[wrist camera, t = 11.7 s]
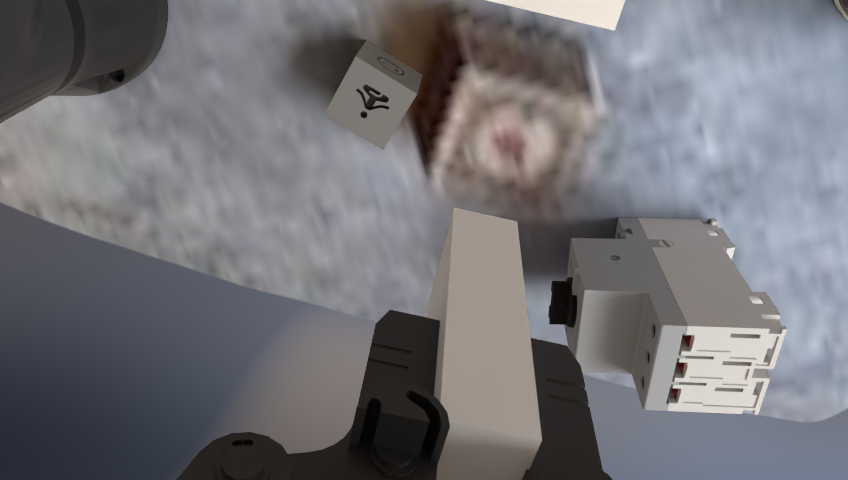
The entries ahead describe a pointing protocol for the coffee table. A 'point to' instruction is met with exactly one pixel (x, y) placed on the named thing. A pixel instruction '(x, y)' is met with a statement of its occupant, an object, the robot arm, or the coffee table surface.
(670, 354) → the circuit breaker
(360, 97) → the dice cube
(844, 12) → the coffee can
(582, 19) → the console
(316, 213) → the coffee table surface
